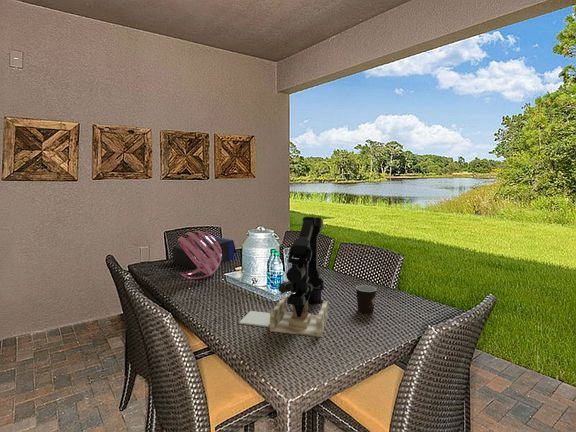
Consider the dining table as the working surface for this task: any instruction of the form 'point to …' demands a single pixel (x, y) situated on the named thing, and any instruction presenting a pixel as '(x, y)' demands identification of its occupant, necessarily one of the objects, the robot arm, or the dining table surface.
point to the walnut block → (304, 312)
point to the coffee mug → (365, 298)
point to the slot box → (297, 321)
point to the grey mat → (256, 319)
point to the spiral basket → (201, 253)
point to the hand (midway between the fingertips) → (300, 314)
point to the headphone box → (184, 259)
